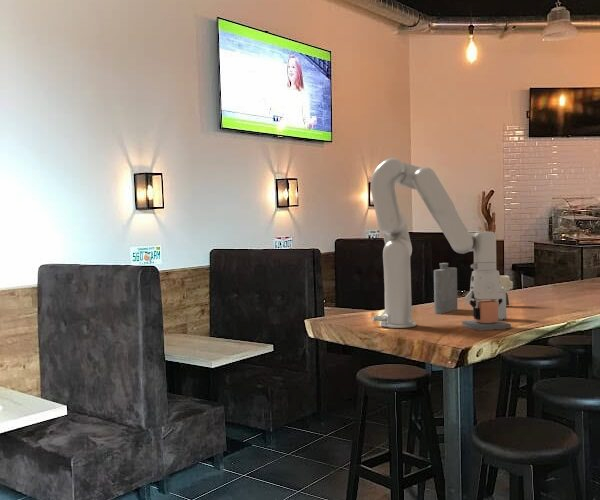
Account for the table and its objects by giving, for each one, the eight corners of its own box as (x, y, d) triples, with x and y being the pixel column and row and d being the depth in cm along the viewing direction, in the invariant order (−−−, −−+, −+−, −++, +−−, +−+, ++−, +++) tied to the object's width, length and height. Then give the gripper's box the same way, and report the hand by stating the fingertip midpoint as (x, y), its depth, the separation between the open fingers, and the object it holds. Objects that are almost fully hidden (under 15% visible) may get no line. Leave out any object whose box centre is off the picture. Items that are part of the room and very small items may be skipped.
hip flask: (440, 314, 258) (439, 264, 257) (431, 313, 260) (430, 264, 260) (458, 309, 270) (458, 261, 269) (450, 308, 272) (449, 261, 272)
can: (491, 321, 237) (491, 288, 237) (482, 318, 245) (481, 286, 244) (510, 320, 239) (509, 287, 238) (500, 317, 246) (499, 286, 246)
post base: (479, 330, 218) (478, 311, 218) (462, 325, 230) (461, 307, 230) (510, 328, 221) (510, 309, 221) (492, 323, 233) (492, 305, 232)
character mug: (517, 306, 274) (517, 276, 273) (508, 308, 269) (507, 277, 268) (494, 304, 282) (494, 274, 281) (485, 306, 277) (485, 276, 277)
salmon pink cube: (482, 322, 222) (481, 302, 221) (473, 320, 228) (473, 300, 227) (497, 321, 223) (497, 301, 223) (489, 319, 229) (488, 299, 229)
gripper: (467, 268, 219) (468, 321, 220) (513, 266, 223) (513, 318, 224) (457, 267, 226) (458, 318, 227) (501, 265, 230) (502, 315, 231)
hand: (485, 318), depth 225 cm, fingers closed on salmon pink cube, 5 cm apart
